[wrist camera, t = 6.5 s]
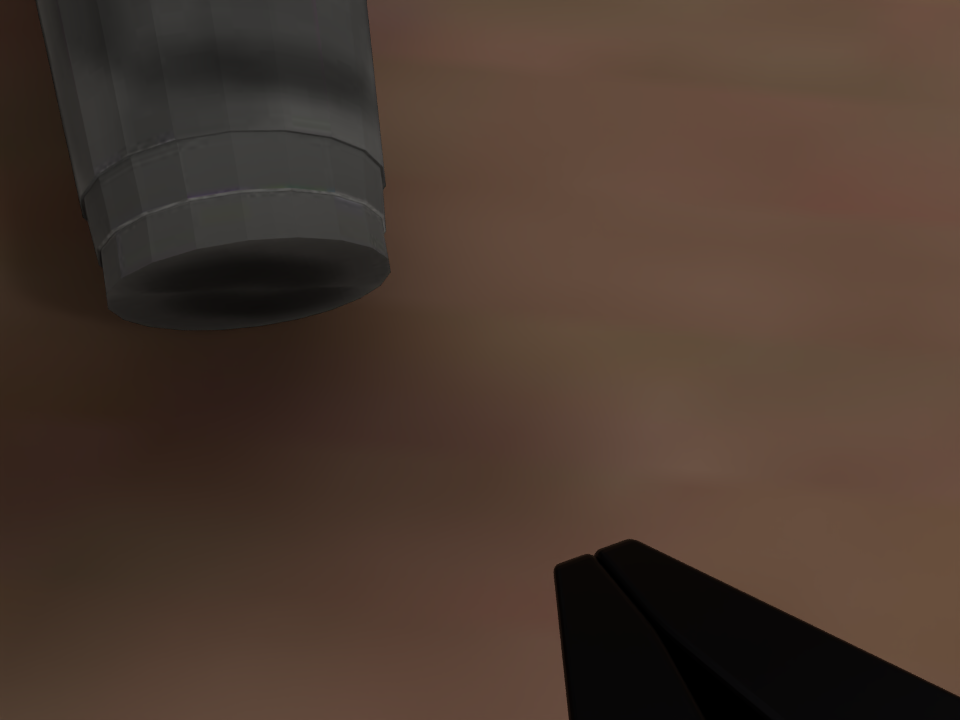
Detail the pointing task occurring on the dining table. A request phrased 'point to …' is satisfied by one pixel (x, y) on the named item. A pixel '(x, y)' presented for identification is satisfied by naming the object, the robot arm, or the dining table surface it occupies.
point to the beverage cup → (223, 154)
